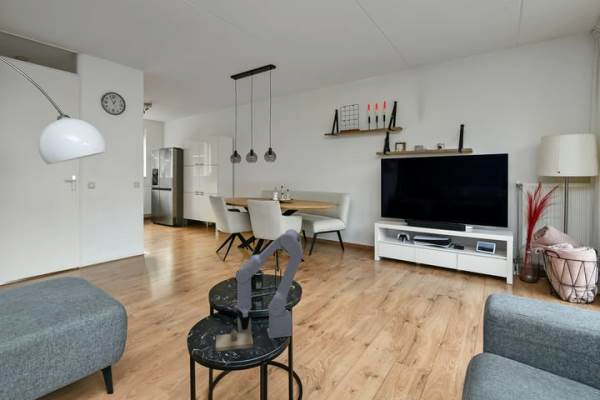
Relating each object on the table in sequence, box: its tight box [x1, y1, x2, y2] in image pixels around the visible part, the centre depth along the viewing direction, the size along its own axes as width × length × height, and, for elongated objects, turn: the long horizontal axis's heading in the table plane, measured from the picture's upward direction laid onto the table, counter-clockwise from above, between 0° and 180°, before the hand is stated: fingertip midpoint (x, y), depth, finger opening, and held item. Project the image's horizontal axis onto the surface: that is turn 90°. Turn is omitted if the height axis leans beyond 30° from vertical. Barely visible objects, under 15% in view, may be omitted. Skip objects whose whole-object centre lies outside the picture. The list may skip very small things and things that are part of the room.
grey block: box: [237, 316, 252, 333], centre depth 133 cm, size 5×5×6 cm
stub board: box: [215, 330, 254, 352], centre depth 122 cm, size 14×9×4 cm, turn 104°
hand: (244, 325), depth 133 cm, fingers closed on grey block, 5 cm apart
